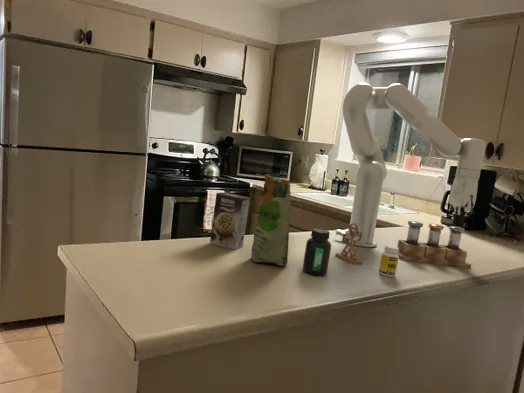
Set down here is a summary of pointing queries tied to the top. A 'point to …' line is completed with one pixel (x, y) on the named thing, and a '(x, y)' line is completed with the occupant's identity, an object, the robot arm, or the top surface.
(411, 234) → the plug
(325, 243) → the supplement bottle
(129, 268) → the top surface
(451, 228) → the plug
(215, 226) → the coffee box
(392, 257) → the supplement bottle
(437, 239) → the plug mid
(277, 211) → the pouch
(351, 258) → the tan toy soldier
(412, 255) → the socket board
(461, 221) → the robot arm
